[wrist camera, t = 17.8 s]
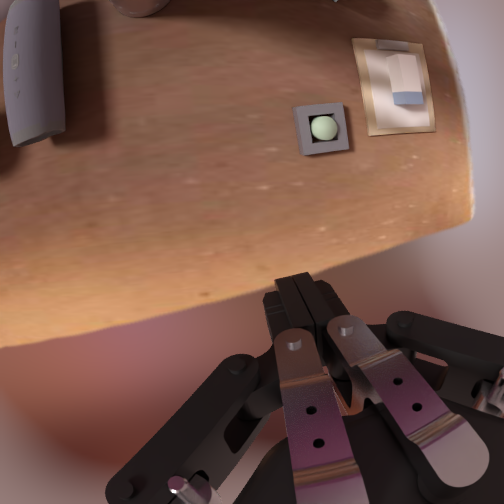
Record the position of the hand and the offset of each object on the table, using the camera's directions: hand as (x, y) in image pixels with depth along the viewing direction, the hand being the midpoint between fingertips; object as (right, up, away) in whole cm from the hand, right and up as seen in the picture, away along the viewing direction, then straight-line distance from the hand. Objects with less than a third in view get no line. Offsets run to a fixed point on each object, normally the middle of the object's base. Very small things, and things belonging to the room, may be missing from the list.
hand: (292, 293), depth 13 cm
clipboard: (+22, +29, +26) cm, 44 cm away
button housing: (+8, +20, +28) cm, 35 cm away
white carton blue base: (+21, +29, +25) cm, 44 cm away
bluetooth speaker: (-33, +30, +18) cm, 48 cm away
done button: (+8, +20, +27) cm, 35 cm away
